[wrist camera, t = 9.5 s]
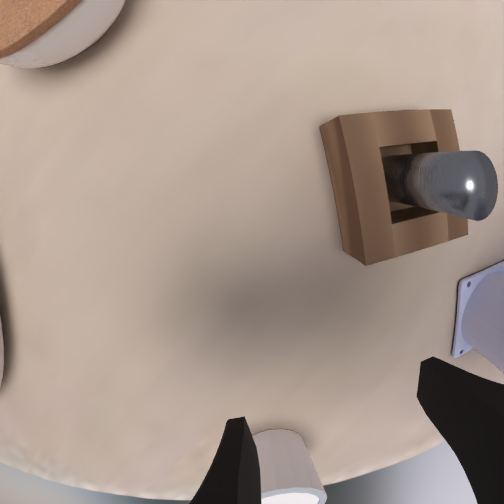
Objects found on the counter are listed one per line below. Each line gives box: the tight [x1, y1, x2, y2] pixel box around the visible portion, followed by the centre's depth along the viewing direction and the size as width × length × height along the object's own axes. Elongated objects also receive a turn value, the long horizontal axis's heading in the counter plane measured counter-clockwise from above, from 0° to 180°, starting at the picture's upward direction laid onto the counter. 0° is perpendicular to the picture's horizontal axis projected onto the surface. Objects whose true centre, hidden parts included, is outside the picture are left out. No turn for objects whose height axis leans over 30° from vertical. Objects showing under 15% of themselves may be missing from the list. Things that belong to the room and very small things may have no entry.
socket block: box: [320, 110, 468, 266], centre depth 16 cm, size 8×8×4 cm
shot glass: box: [252, 429, 327, 504], centre depth 19 cm, size 7×7×7 cm
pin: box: [381, 151, 498, 221], centre depth 13 cm, size 3×3×8 cm
